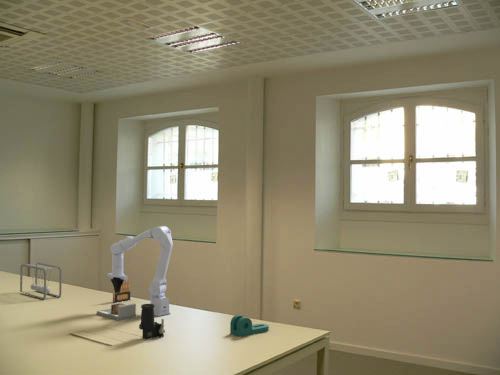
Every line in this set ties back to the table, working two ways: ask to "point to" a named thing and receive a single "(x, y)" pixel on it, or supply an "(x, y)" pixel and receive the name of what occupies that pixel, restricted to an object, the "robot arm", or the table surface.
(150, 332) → the scope
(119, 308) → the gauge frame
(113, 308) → the block
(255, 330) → the bracket
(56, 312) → the table surface
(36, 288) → the newton's cradle
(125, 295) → the ammunition clip
